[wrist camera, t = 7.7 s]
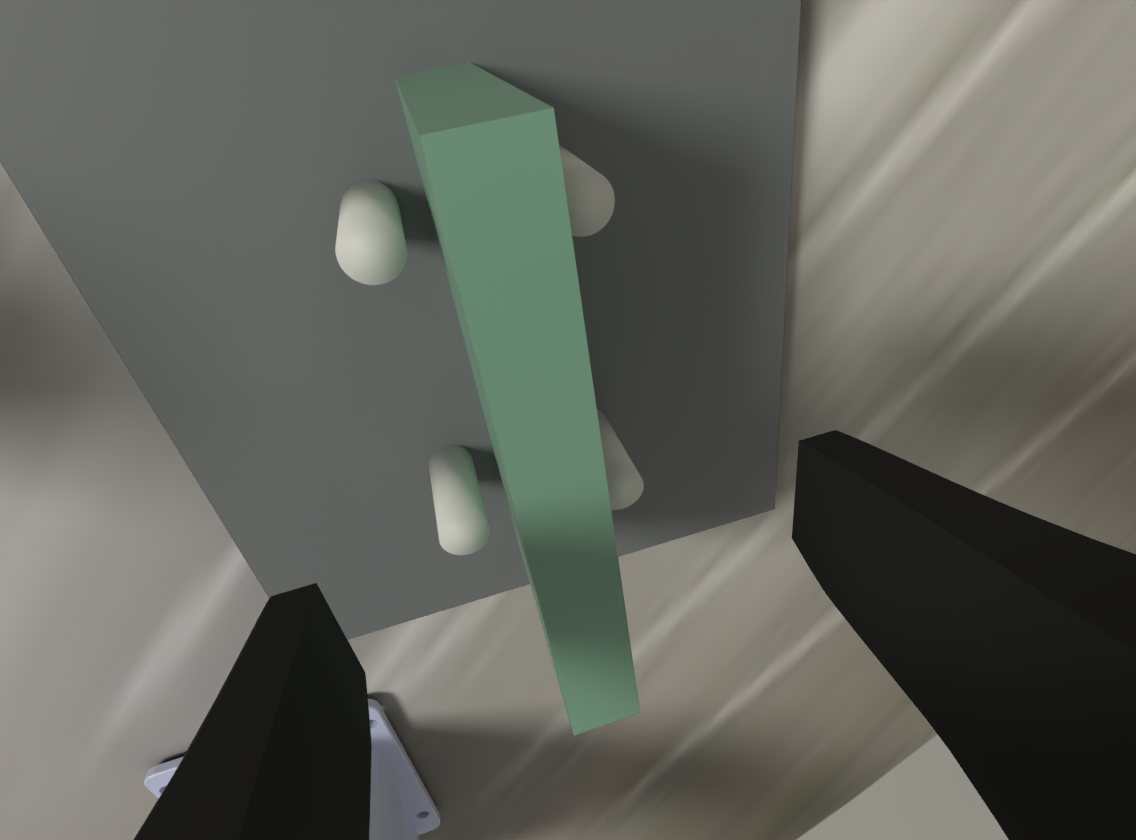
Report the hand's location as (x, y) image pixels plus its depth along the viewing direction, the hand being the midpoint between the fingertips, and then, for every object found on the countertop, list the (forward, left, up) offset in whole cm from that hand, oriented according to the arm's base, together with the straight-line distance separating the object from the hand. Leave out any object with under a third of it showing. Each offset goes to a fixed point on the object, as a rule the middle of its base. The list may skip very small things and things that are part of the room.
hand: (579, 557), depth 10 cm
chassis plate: (0, 0, -9) cm, 9 cm away
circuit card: (0, 0, -8) cm, 8 cm away
